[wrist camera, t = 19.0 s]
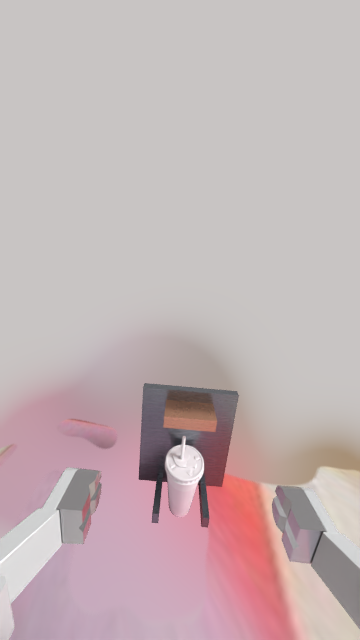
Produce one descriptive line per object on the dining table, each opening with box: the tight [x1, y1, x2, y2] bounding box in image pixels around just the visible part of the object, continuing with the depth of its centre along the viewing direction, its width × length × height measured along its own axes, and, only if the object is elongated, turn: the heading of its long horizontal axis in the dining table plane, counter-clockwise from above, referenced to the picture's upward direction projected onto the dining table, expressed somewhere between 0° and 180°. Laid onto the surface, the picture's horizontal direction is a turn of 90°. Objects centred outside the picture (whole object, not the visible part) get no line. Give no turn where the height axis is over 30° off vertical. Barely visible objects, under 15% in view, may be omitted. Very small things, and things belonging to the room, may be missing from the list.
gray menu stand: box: [139, 383, 239, 527], centre depth 33 cm, size 16×8×20 cm, turn 89°
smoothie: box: [165, 436, 204, 517], centre depth 33 cm, size 6×6×14 cm
